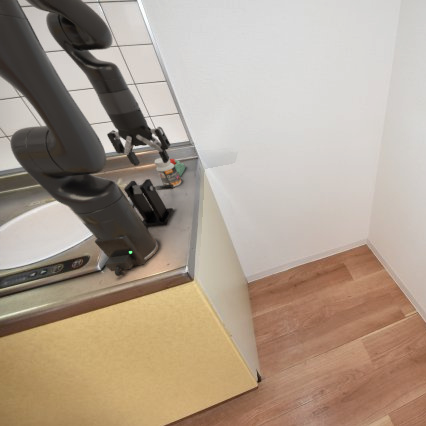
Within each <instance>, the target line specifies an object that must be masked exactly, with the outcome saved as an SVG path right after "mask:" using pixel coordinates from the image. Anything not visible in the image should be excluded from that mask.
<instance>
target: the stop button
mask: <svg viewBox="0 0 426 426" xmlns="http://www.w3.org/2000/svg"><path fill="white" fill-rule="evenodd" d="M169 159H170V163H172V164H174V165H175V164H176V162H175V159H174V158H169Z"/></svg>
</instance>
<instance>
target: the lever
mask: <svg viewBox="0 0 426 426" xmlns="http://www.w3.org/2000/svg"><path fill="white" fill-rule="evenodd" d="M141 185H142V184H137V185H135V186H132V188H133V192H134V194H143V193H142V191H141V189H140V187H141ZM154 187H155V189H156V191H163V190H172V189H174V188H175V187H174V186H173V184H171V185H164V184H163V185H156V186H155V185H154ZM143 195H144V194H143Z"/></svg>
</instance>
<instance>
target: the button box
mask: <svg viewBox="0 0 426 426" xmlns="http://www.w3.org/2000/svg"><path fill="white" fill-rule="evenodd" d="M174 160H175V159H174ZM175 162H176V164H175V165H174V166H175V168H176V170H177V172H178V175H179V177H182V175H183V174H184V172H185V170H186V166H185V163H184V162H183V163H181V161H180V160H177V159H176V160H175Z"/></svg>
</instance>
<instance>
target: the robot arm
mask: <svg viewBox="0 0 426 426" xmlns="http://www.w3.org/2000/svg"><path fill="white" fill-rule="evenodd" d="M25 1H26V2H27V3H28V4H29V5H30V6H32V7H33V8H36V10H39V11H43V12H47V14H46V18H45V23H46V27H47V29H48V31H49V33H50V35H51V37H52V38H53V39H54V41H55V42H56V43H57V44H58V46H59V47H60V48H61V49H62V50H63V51H64V52H65V53H66V54H67V55H68V56H69V58H70V59H71V60H72V61H73V62H74V63H75V64H76V65H77V66H78V68H79V69H80V70H81V71H82V72H83V74H85V76H86V78H87V79H88V81H89V83H90V84H91V86H92V88H93V89H94V92H95V93H96V96H97V97H98V100H99V102H100V104H101V107H102V108H103V109H104V111H105V113H106V114H107V116H108V118H109V120H110V121H111V123H112V124H113V126H114V128H115V129H116V130H117V131H116V130H111V131H109V132H107V134H106V135H107V138H108V140H109V142H110V143H111V145H112V146H113V149H114V150H115V152H116V153H117V154H124V155H125V156H126V158H127V159H128V160H129V163H131V164H132V165H133V166H135V167H137V166H139V165H140V163H141V162H140V160H139V158H138V156H137V155H136V153H135V151H133V150H134V147H139V146H142V147H144V146H148V147H150V148H152V149H155V150H156V151H158V154H159V156H160V158H162V160H163V162H164V163H167V162H168V160H169V159H170V156H169V154H168V152H167V150H168V149H170V147H171V143H170V141H169V139H168V136H167V134H166V133H165V131H164V130H163V129H164V128H163V127H161V126H157V128H151V127H150V126H149V125H148V122H147V119H146V118H145V115H144V114H143V112H142V111H143V110H141V107H140V105H139V102H138V101H137V99H136V97H135V96H134V94H133V92H132V91H131V90H130V88H129V86H128V83H127V81H126V79H125V78H124V76H123V73H122V71H121V70H120V68H119V67H118V65H117V64H116V63H114V62H111V61H106V60H102V59H98V58H97V57H96V56H94V55H93V53H91V51H98V50H99V51H102V50H107V49H110V48H111V47H112V45H113V41H114V40H113V34H112V32H111V30H110V27H109V26H108V25H107V23H106V22H105V20H104V19H103V18H102V17H101V16H100V14H99V13H97V12H96V11H95V10H94V9H93V8H92V7H91V6H89V4H87V3H86V2H84V1H83V0H25ZM28 18H29V17H28V16H27V15H26V13H25V11H24V9H23V7H22V6H21V4H20V2H19V0H0V78H1V79H3V80H4V81H6V83H8V84H9V85H11V86H12V88H14V89H15V90H17V92H19V93H20V94H21V95H22V96H23V97H24V98H25V99H26V100H27V101H28V103H29V104H30V105H31V106H32V108H33V109H34V110H35V112H36V113H37V114H38V116H39V117H40V119H41V120H42V121H43V123H44V125H40V126H37V125H36V126H28V127H23V128H20V129H18V130H16V131H15V132H14V133H12V135H11V137H10V141H9V142H10V149H11V152H12V154H13V156H14V158H15V160H16V161H17V162H18V164H19V165H20V166H21V167H22V169H23V170H24V171H25V172H26V173H27V174H28V175H29V176H30V177H31V178H32V179H33V180H34V181H35V182H36V183H37V184H38V185H39V186H40V187H41V188H42V189H43V190H45V191H46V193H48V195H50V196H51V197H52V198H53V199H54V200H55V201H56V202H58V203H60V204H62V205H64V206H65V207H67V208H69V209H70V211H72V213H73V214H74V215H75V216H76V217H77V218H78V219H79V221H80V222H81V223H82V224H83V225H84V226H85V227H86V228H87V229H88V231H89V232H90V233H91V234H92V235H93V236H94V237H95V238H96V239H95V240H94V243H95V244H96V245H97V247H98V248H99V249H100V250H101V251H102V252H103V253H104V254H105V255H106V256H107V258H108V259H107V260H106V262H105V263H104V265H105V267H107V268H108V270H109V271H110V272H114V275H115V276H116V277H121V276H123V275H124V274H125V273H124V271H123V270H131V269H132V268H133V267H135V266H142V265H145V263H146V262H147V261H148V260H150V259H151V258H152V257H153V256H154V255H155V254H156V253H157V252H158V250H159V243H158V241H157V240H156V239H155V238H154V236H153V234H152V233H151V232H150V231H149V229H148V227H146V226H145V224H144V223H143V220H142V217H140V215H139V214H138V212H137V211H136V209H135V207H133V205H132V203H131V202H130V200H129V199H128V198H127V196H126V195H125V192H124V191H123V190H122V189H121V188H120V186H119V185H118V184H117V183H116V182H115V181H114V180H112V179H109V178H104V177H101V176H96V175H93V174H98V173H100V172H102V171H104V170H105V167H106V166H107V153H106V151H105V148H104V145H103V143H102V141H101V139H100V137H99V136H98V134H97V133H96V130H95V129H94V128H93V127H92V125H91V124H90V122H89V120H88V119H87V117H86V116H85V114H84V112H83V111H82V110H81V108H80V107H79V105H78V104H77V102H76V101H75V99H74V98H73V96H72V95H71V93H70V92H69V91H68V88H67V87H66V85H65V84H64V82H63V81H62V79H61V76H60V75H59V74H58V72H57V70H56V68H55V66H54V65H53V63H52V61H51V59H50V58H49V56H48V54H47V52H46V50H45V49H44V47H43V46H42V43H41V42H40V40H39V38H38V36H37V34H36V32H35V30H34V28H33V26H32V24H31V22H30V20H29V19H28ZM156 137H157V138H156ZM121 139H123V140H124V141H125V142H124V143H125V144H123V142H122V140H121Z"/></svg>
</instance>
